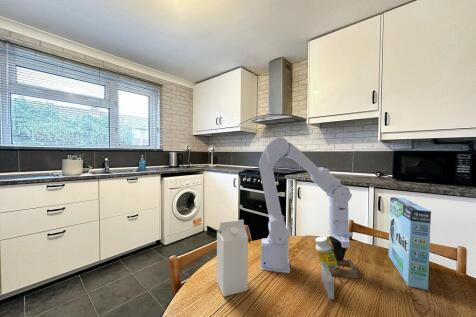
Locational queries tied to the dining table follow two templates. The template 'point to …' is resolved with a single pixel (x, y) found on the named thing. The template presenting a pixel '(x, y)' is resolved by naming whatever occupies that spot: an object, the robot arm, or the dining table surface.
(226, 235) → the milk carton
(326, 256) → the supplement bottle
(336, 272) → the brown u-shaped frame
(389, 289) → the dining table surface
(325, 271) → the locking bar
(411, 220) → the gum box
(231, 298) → the dining table surface
